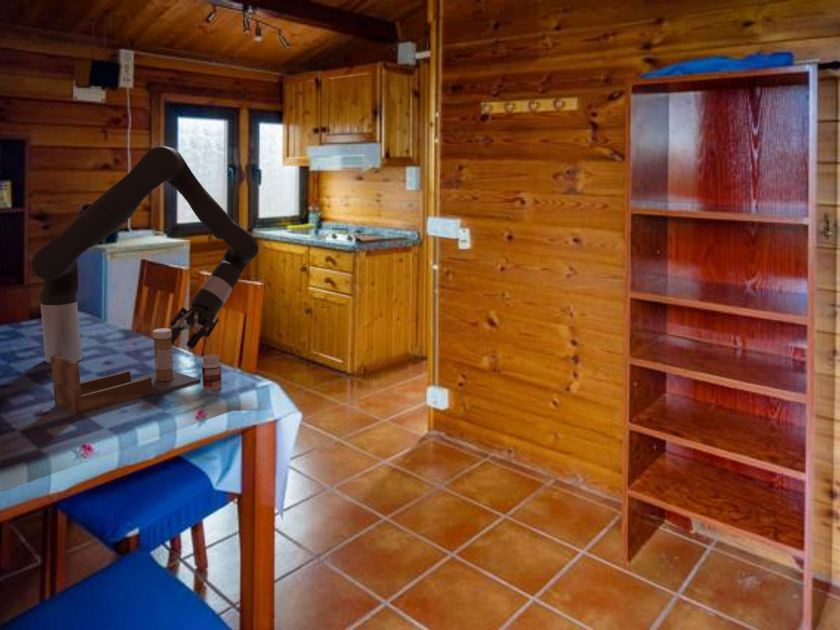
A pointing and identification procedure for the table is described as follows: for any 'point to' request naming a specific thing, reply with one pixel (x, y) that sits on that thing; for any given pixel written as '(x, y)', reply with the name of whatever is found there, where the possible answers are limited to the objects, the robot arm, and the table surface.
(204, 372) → the pill bottle
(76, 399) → the shelf lane
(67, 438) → the table surface
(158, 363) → the sprinkles bottle
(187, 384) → the rubber mat
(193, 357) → the table surface
